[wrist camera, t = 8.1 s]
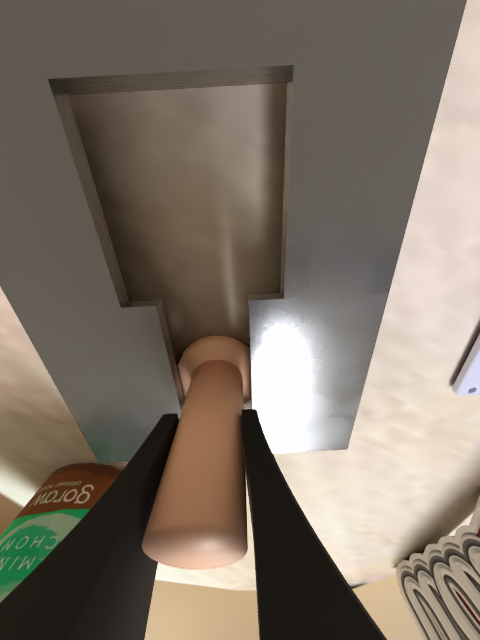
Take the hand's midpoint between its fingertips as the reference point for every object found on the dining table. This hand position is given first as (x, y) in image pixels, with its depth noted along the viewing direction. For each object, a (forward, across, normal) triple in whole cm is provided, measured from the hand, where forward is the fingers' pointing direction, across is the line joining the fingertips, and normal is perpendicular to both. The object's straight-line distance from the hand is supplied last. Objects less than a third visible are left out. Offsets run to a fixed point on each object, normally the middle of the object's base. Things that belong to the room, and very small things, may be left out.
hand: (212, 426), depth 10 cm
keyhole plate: (+4, 0, -4) cm, 6 cm away
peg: (+4, 0, 0) cm, 4 cm away
